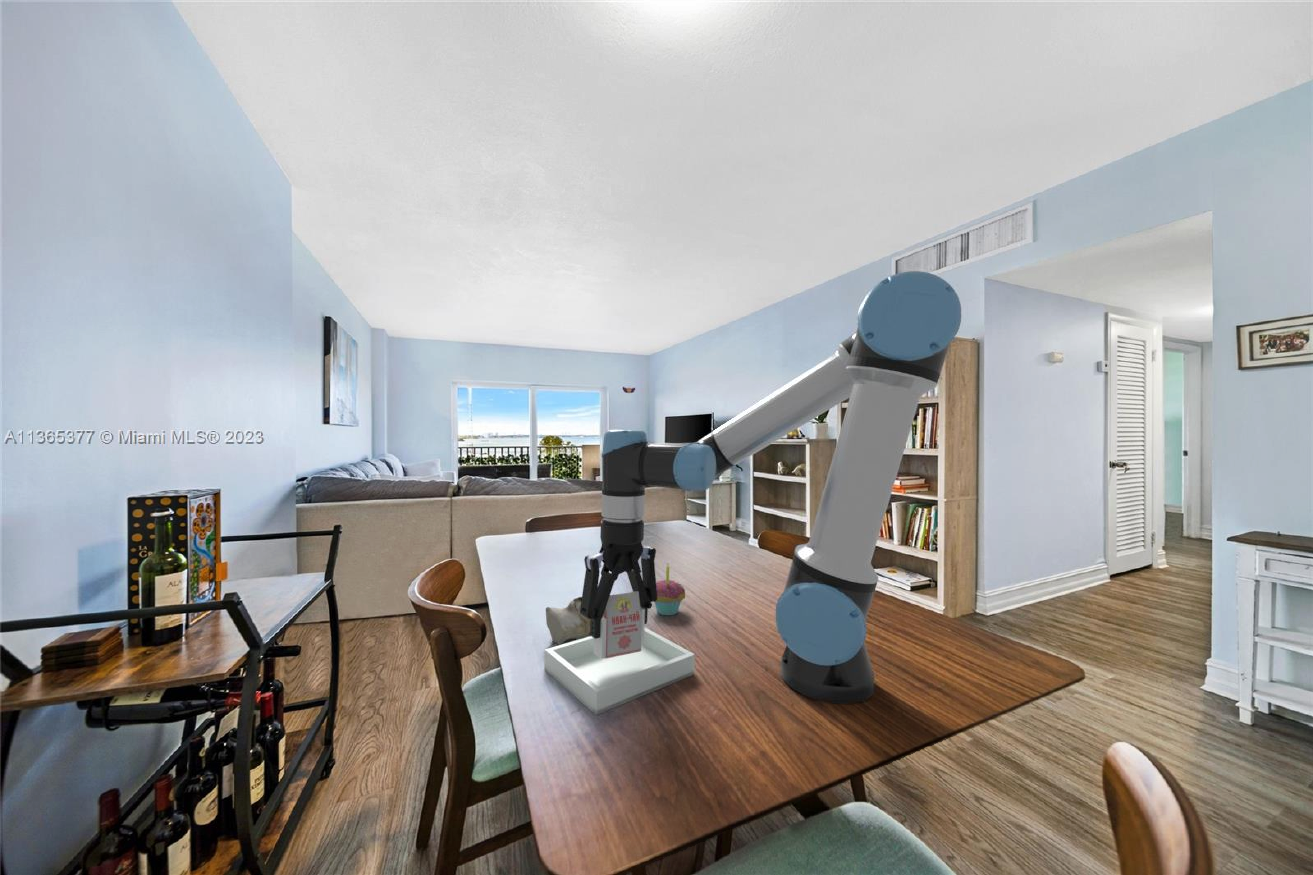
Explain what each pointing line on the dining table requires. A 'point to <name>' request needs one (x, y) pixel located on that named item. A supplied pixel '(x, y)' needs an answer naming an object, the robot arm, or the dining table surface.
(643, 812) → the dining table surface
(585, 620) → the ceramic sculpture
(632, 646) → the white printed box
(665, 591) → the cupcake
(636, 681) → the tray
